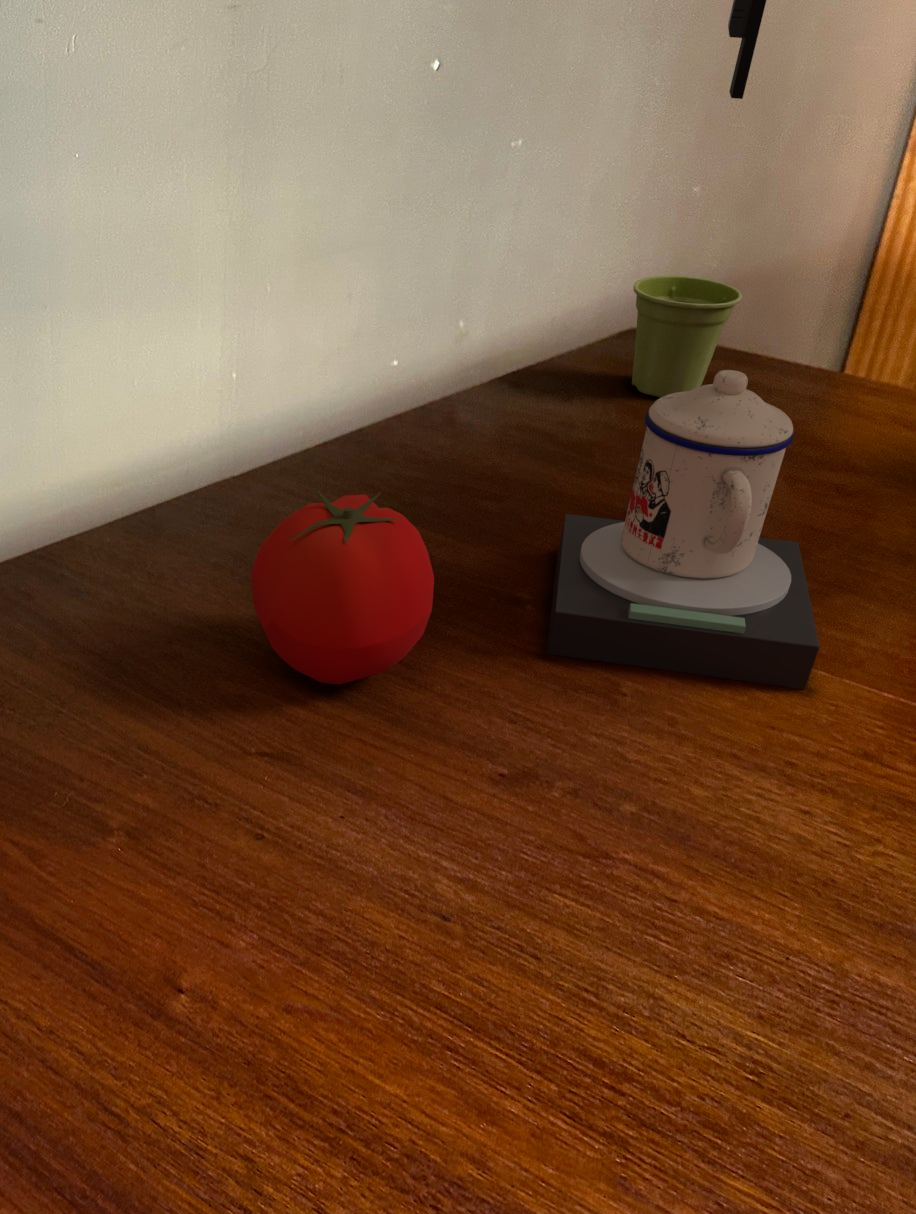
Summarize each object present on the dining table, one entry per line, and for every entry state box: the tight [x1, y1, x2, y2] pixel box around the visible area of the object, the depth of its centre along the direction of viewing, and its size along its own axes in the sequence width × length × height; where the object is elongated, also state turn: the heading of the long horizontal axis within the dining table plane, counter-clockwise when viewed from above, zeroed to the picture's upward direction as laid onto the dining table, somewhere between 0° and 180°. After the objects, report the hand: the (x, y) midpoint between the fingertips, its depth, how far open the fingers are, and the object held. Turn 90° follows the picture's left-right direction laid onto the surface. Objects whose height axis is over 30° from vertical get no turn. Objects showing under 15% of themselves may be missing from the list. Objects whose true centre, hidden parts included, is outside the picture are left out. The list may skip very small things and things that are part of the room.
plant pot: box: [631, 275, 743, 398], centre depth 129 cm, size 9×9×9 cm
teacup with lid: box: [621, 369, 795, 578], centre depth 90 cm, size 12×9×12 cm
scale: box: [546, 513, 820, 690], centre depth 95 cm, size 16×16×4 cm
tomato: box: [250, 490, 435, 686], centre depth 86 cm, size 11×13×10 cm
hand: (838, 103), depth 96 cm, fingers open, 13 cm apart
